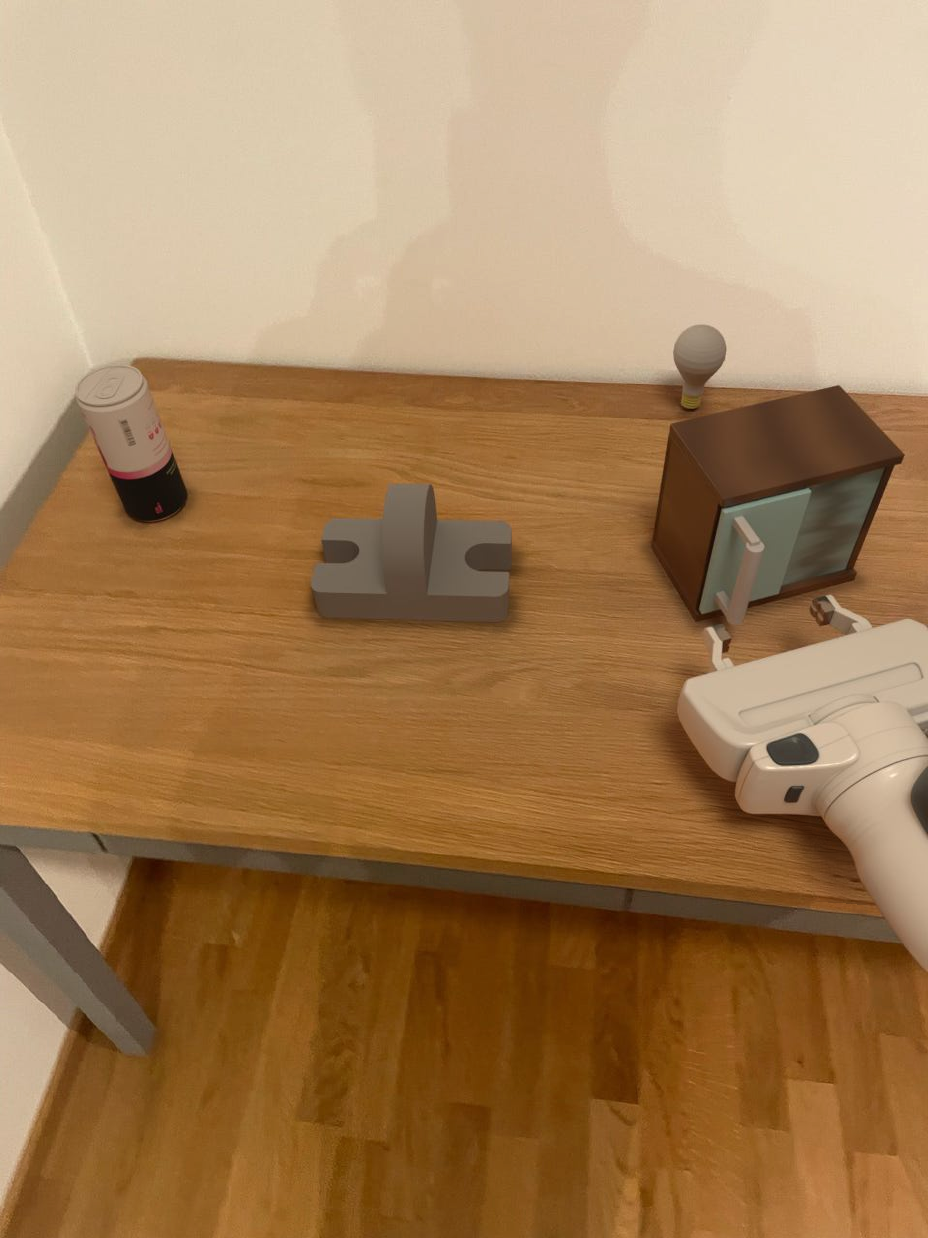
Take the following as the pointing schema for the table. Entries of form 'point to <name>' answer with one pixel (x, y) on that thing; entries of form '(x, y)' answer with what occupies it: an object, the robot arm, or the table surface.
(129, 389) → the beverage can
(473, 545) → the bracket
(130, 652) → the table surface
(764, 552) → the door
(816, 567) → the cabinet
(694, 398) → the light bulb
